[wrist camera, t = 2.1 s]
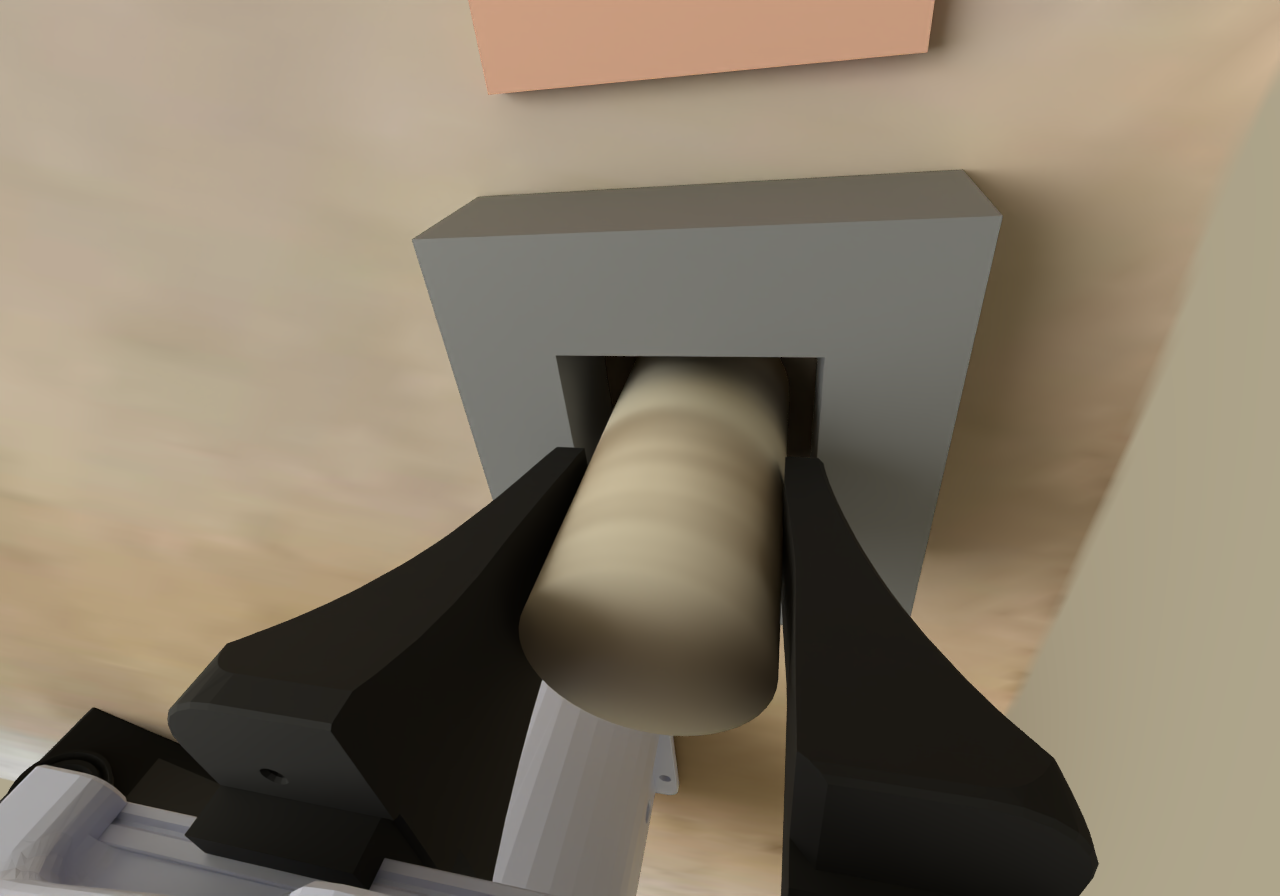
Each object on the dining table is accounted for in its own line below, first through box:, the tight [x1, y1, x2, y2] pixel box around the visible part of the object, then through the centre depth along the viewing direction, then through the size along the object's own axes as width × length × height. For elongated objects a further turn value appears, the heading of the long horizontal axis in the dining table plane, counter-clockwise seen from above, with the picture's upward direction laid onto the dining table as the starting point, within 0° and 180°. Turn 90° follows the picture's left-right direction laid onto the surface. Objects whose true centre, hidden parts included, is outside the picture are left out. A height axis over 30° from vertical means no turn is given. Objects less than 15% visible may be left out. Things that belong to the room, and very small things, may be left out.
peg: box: [519, 356, 789, 736], centre depth 13 cm, size 4×4×8 cm
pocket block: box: [412, 170, 1003, 625], centre depth 15 cm, size 10×10×3 cm
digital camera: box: [0, 708, 220, 817], centre depth 37 cm, size 10×5×7 cm, turn 63°
